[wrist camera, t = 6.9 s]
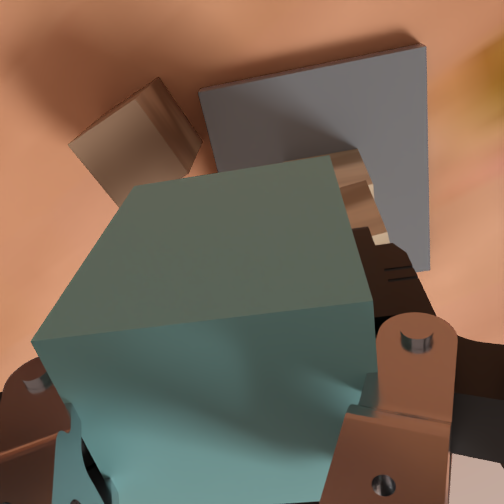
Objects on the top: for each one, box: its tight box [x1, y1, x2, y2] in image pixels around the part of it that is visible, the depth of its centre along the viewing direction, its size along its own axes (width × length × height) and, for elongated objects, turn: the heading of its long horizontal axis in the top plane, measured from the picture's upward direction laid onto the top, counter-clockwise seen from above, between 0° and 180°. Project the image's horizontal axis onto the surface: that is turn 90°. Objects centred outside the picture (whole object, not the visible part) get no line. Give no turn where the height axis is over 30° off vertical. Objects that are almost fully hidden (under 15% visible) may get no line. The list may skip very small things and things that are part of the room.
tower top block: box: [340, 180, 390, 245], centre depth 25 cm, size 5×5×6 cm
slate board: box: [198, 44, 430, 272], centre depth 34 cm, size 16×14×1 cm
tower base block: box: [285, 149, 374, 198], centre depth 31 cm, size 5×5×6 cm
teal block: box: [31, 155, 378, 504], centre depth 11 cm, size 5×5×6 cm
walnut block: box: [68, 77, 202, 208], centre depth 30 cm, size 5×5×6 cm
